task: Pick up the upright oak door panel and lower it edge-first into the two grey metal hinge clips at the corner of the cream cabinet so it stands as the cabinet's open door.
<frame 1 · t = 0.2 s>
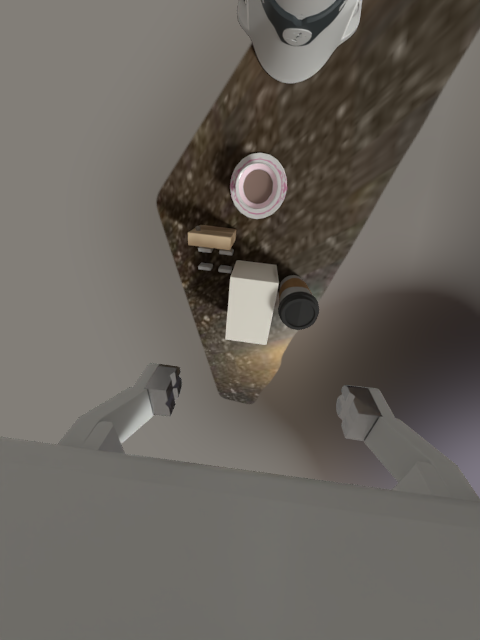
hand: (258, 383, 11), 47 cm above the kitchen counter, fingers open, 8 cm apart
coffee cup: (291, 285, 58), on the kitchen counter
teacup: (258, 187, 47), on the kitchen counter
cabinet: (252, 291, 60), on the kitchen counter
door: (218, 232, 53), on the kitchen counter
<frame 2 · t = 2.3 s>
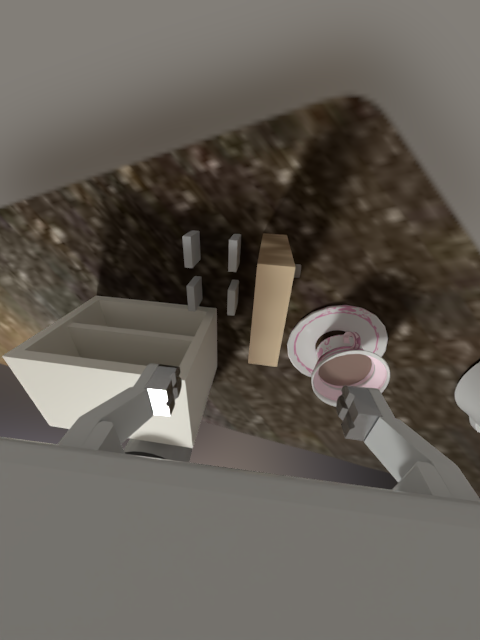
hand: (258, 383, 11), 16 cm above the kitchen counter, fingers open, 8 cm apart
coffee cup: (187, 384, 36), on the kitchen counter
teacup: (333, 343, 29), on the kitchen counter
cabinet: (160, 333, 31), on the kitchen counter
door: (269, 274, 25), on the kitchen counter
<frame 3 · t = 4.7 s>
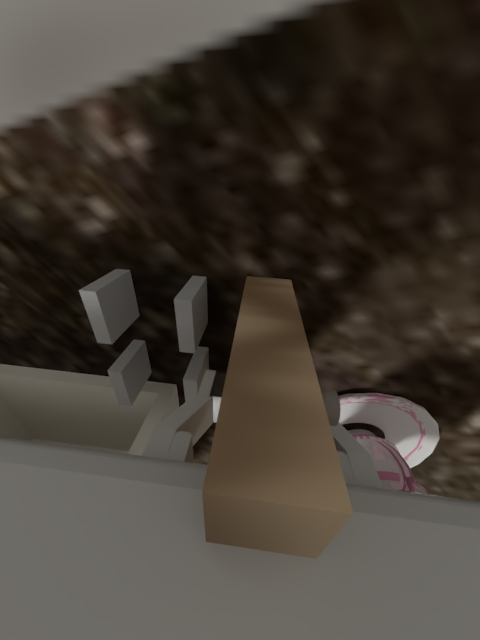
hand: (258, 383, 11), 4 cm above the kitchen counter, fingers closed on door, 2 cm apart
teacup: (352, 435, 19), on the kitchen counter
cabinet: (95, 412, 20), on the kitchen counter
door: (260, 340, 14), on the kitchen counter, touching gripper
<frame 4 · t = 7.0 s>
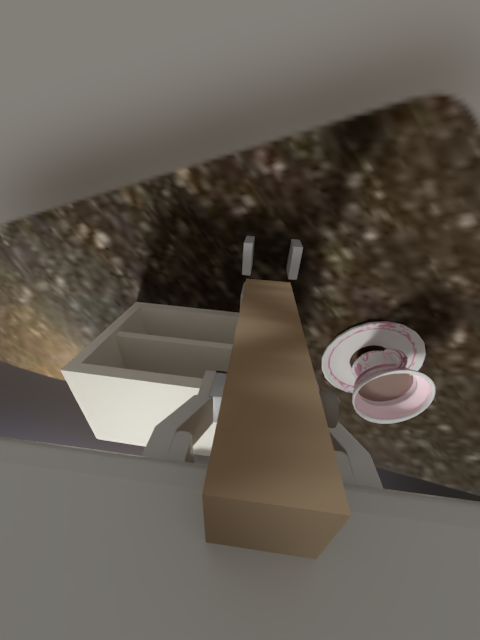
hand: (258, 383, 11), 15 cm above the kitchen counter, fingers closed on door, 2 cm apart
teacup: (368, 358, 29), on the kitchen counter
cabinet: (200, 340, 30), on the kitchen counter
door: (260, 342, 14), point 12 cm above the kitchen counter, touching gripper
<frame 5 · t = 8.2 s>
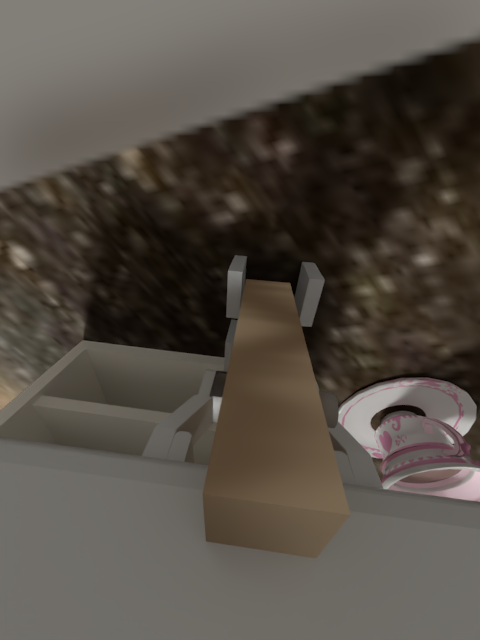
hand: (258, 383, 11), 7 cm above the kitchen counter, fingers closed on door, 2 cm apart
teacup: (395, 417, 22), on the kitchen counter
cabinet: (174, 389, 22), on the kitchen counter
door: (260, 343, 14), point 3 cm above the kitchen counter, touching gripper
when the fingers open (5 cm above the kitchen counter, at t = 9.4 s): door drops 1 cm, on the kitchen counter.
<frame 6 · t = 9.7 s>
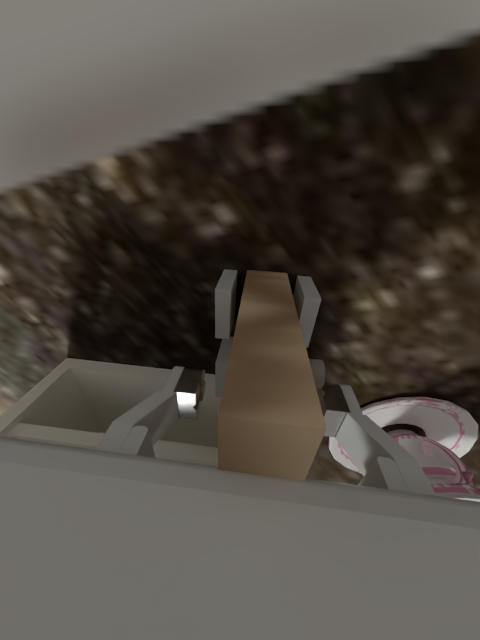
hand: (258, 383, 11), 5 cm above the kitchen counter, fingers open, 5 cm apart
teacup: (394, 435, 21), on the kitchen counter
cabinet: (165, 406, 21), on the kitchen counter
door: (260, 329, 16), on the kitchen counter
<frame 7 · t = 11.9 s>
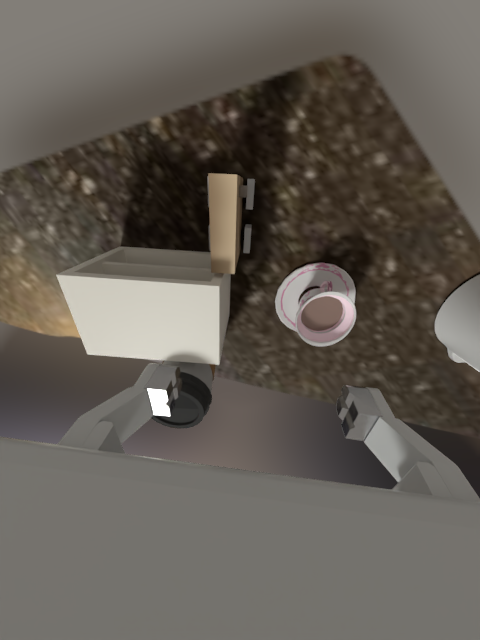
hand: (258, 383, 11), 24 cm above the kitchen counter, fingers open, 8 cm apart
coffee cup: (200, 336, 40), on the kitchen counter
teacup: (313, 299, 35), on the kitchen counter
cabinet: (178, 283, 34), on the kitchen counter
door: (232, 216, 29), on the kitchen counter
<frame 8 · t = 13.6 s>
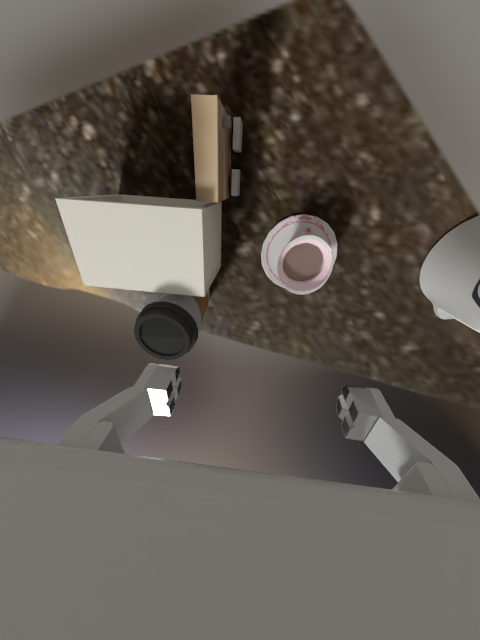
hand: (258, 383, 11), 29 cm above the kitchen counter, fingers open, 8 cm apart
coffee cup: (194, 290, 41), on the kitchen counter
teacup: (297, 254, 36), on the kitchen counter
cabinet: (172, 232, 36), on the kitchen counter
door: (222, 162, 31), on the kitchen counter
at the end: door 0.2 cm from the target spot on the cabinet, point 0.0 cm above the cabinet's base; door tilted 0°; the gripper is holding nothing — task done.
